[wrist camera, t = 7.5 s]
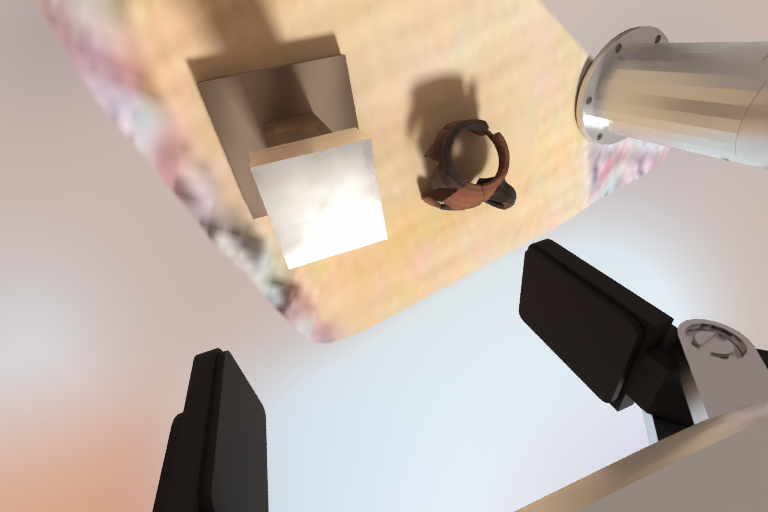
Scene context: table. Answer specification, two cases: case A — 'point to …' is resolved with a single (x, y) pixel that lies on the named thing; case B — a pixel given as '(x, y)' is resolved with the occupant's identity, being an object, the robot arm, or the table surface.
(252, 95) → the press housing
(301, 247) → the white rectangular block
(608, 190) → the table surface
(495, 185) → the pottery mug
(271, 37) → the table surface
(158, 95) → the table surface
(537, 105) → the table surface
